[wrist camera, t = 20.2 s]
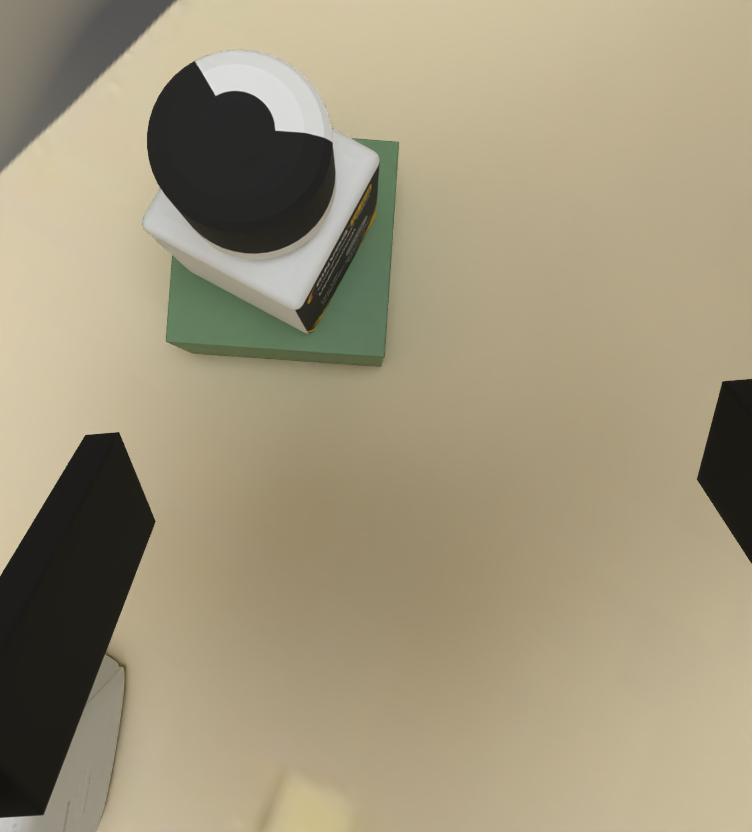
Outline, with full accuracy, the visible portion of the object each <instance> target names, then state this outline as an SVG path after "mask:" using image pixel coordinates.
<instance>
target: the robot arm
mask: <svg viewBox="0 0 752 832" xmlns="http://www.w3.org/2000/svg"><path fill="white" fill-rule="evenodd" d="M697 480H698V482H699V483H700V485H701V486H702V488H703V490H704V491H705V493H706V494H707V496H708V497H709V499H710V500H711V502H712V503H713V505H714V506H715V508H716V510H717V511H718V513H719V514H720V516H721V517H722V519H723V520H724V522H725V523H726V525H727V526H728V528H729V530H730V531H731V533H732V534H733V536H734V537H735V539H736V540H737V542H738V543H739V545H740V546H741V548H742V550H743V551H744V553H745V554H746V556H747V557H748V559H749V560H750V562H751V563H752V379H746V380H734V381H723V382H722V386H721V390H720V393H719V397H718V401H717V405H716V409H715V412H714V416H713V420H712V424H711V428H710V432H709V435H708V439H707V443H706V447H705V451H704V454H703V458H702V462H701V466H700V470H699V473H698V477H697ZM155 522H156V521H155V519H154V517H153V514H152V512H151V509H150V507H149V504H148V502H147V499H146V497H145V495H144V492H143V490H142V487H141V485H140V482H139V480H138V477H137V475H136V472H135V470H134V468H133V465H132V463H131V460H130V458H129V455H128V453H127V450H126V448H125V446H124V443H123V441H122V438H121V436H120V433H119V432H117V433H105V434H93V435H85V437H84V438H83V440H82V442H81V443H80V445H79V447H78V448H77V450H76V451H75V453H74V455H73V456H72V458H71V460H70V461H69V463H68V465H67V466H66V468H65V470H64V471H63V473H62V475H61V476H60V478H59V480H58V481H57V483H56V485H55V486H54V488H53V490H52V491H51V493H50V495H49V496H48V498H47V500H46V501H45V503H44V505H43V506H42V508H41V510H40V511H39V513H38V515H37V516H36V518H35V519H34V521H33V523H32V524H31V526H30V528H29V529H28V531H27V533H26V534H25V536H24V538H23V539H22V541H21V543H20V544H19V546H18V548H17V549H16V551H15V553H14V554H13V556H12V558H11V559H10V561H9V563H8V564H7V566H6V568H5V569H4V571H3V573H2V574H1V576H0V818H7V817H24V816H41V815H44V813H45V810H46V808H47V805H48V802H49V800H50V797H51V794H52V792H53V789H54V787H55V784H56V781H57V779H58V776H59V773H60V771H61V768H62V766H63V763H64V760H65V758H66V755H67V752H68V750H69V747H70V745H71V742H72V739H73V737H74V734H75V731H76V729H77V726H78V724H79V721H80V718H81V716H82V713H83V711H84V708H85V705H86V703H87V700H88V697H89V695H90V692H91V690H92V687H93V684H94V682H95V679H96V676H97V674H98V671H99V669H100V666H101V663H102V661H103V658H104V655H105V653H106V650H107V648H108V645H109V642H110V640H111V637H112V634H113V632H114V629H115V627H116V624H117V621H118V619H119V616H120V613H121V611H122V608H123V606H124V603H125V600H126V598H127V595H128V592H129V590H130V587H131V585H132V582H133V579H134V577H135V574H136V571H137V569H138V566H139V564H140V561H141V558H142V556H143V553H144V551H145V548H146V545H147V543H148V540H149V537H150V535H151V532H152V530H153V527H154V524H155Z"/></svg>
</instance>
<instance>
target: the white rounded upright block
mask: <svg viewBox="0 0 752 832" xmlns="http://www.w3.org/2000/svg"><path fill="white" fill-rule="evenodd" d="M124 683H125V676H124V668H123V667H119V665H118V663H117V662H116V661H115V660H113V659H112V658H110V657H109V656H107V655H104V658H103V661H102V663H101V666H100V669H99V671H98V674H97V676H96V679H95V682H94V684H93V687H92V690H91V692H90V695H89V697H88V700H87V703H86V705H85V708H84V711H83V713H82V716H81V718H80V721H79V724H78V726H77V729H76V731H75V734H74V737H73V739H72V742H71V745H70V747H69V750H68V752H67V755H66V758H65V760H64V763H63V766H62V768H61V771H60V773H59V776H58V779H57V781H56V784H55V787H54V789H53V792H52V794H51V797H50V800H49V802H48V805H47V808H46V810H45V813H44V815H41V816H24V817H7V818H0V832H95V831H96V829H97V827H98V824H99V822H100V819H101V817H102V814H103V810H104V807H105V803H106V798H107V794H108V789H109V784H110V779H111V774H112V768H113V763H114V757H115V751H116V745H117V739H118V732H119V725H120V718H121V711H122V703H123V695H124Z"/></svg>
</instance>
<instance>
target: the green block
mask: <svg viewBox="0 0 752 832" xmlns="http://www.w3.org/2000/svg"><path fill="white" fill-rule="evenodd" d="M351 139H353V140H355V141H357V142H358V143H360V144H362V145H364V146H366V147H368V148H370V149H371V150H373V151H375V152H376V153H377V154H378V156H379V159H380V164H379V179H378V194H377V208H376V217H375V219H374V221H373V223H372V225H371V226H370V228H369V230H368V232H367V234H366V236H365V238H364V239H363V241H362V243H361V245H360V247H359V249H358V251H357V252H356V254H355V256H354V258H353V260H352V262H351V264H350V265H349V267H348V269H347V271H346V273H345V275H344V277H343V278H342V280H341V282H340V284H339V286H338V288H337V290H336V291H335V293H334V295H333V297H332V299H331V301H330V303H329V304H328V306H327V308H326V310H325V312H324V314H323V315H322V317H321V319H320V321H319V323H318V325H317V327H316V328H315V330H314V331H313V332H312V333H309V334H307V333H304V332H302V331H300V330H298V329H296V328H294V327H293V326H291V325H289V324H287V323H285V322H283V321H281V320H279V319H278V318H276V317H274V316H272V315H270V314H268V313H266V312H265V311H263V310H261V309H259V308H257V307H255V306H253V305H251V304H250V303H248V302H246V301H244V300H242V299H240V298H238V297H237V296H235V295H233V294H231V293H229V292H227V291H225V290H223V289H222V288H220V287H218V286H216V285H214V284H212V283H210V282H208V281H207V280H205V279H203V278H201V277H199V276H197V275H195V274H194V273H192V272H190V271H189V270H188V269H187V268H186V267H185V266H184V265H183V264H181V263H180V262H179V261H178V260H177V259H176V258H175V257H174V256H173V255H172V265H171V279H170V292H169V306H168V319H167V333H166V342H168V343H170V344H172V345H175V346H177V347H179V348H182V349H184V350H186V351H189V352H191V353H195V354H209V355H223V356H238V357H252V358H266V359H281V360H295V361H309V362H323V363H338V364H352V365H366V366H381V365H382V362H383V359H384V356H385V342H386V327H387V312H388V297H389V283H390V268H391V253H392V238H393V224H394V209H395V194H396V180H397V165H398V150H399V142H392V141H380V140H367V139H354V138H351Z"/></svg>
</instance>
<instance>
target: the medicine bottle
mask: <svg viewBox="0 0 752 832" xmlns="http://www.w3.org/2000/svg"><path fill="white" fill-rule="evenodd" d="M147 149H148V156H149V161H150V165H151V168H152V172H153V174H154V176H155V179H156V181H157V183H158V185H159V186H160V188H159V190H158V192H157V194H156V196H155V197H154V199H153V201H152V203H151V205H150V206H149V208H148V210H147V212H146V214H145V216H144V217H143V220H142V225H143V229H144V230H145V231H146V232H147V233H148V234H150V235H151V236H152V237H153V238H154V239H155V240H156V241H157V242H158V243H159V244H161V245H162V246H163V247H164V248H165V249H166V250H167V251H168V252H169V253H170V254H172V255H173V256H174V257H175V258H176V259H177V260H178V261H179V262H180V263H181V264H183V265H184V266H185V267H186V268H187V269H188V270H189V271H190V272H192V273H194V274H195V275H197V276H199V277H201V278H203V279H205V280H207V281H208V282H210V283H212V284H214V285H216V286H218V287H220V288H222V289H223V290H225V291H227V292H229V293H231V294H233V295H235V296H237V297H238V298H240V299H242V300H244V301H246V302H248V303H250V304H251V305H253V306H255V307H257V308H259V309H261V310H263V311H265V312H266V313H268V314H270V315H272V316H274V317H276V318H278V319H279V320H281V321H283V322H285V323H287V324H289V325H291V326H293V327H294V328H296V329H298V330H300V331H302V332H304V333H307V334H309V333H312V332H313V331H314V330H315V328H316V327H317V325H318V323H319V321H320V319H321V317H322V315H323V314H324V312H325V310H326V308H327V306H328V304H329V303H330V301H331V299H332V297H333V295H334V293H335V291H336V290H337V288H338V286H339V284H340V282H341V280H342V278H343V277H344V275H345V273H346V271H347V269H348V267H349V265H350V264H351V262H352V260H353V258H354V256H355V254H356V252H357V251H358V249H359V247H360V245H361V243H362V241H363V239H364V238H365V236H366V234H367V232H368V230H369V228H370V226H371V225H372V223H373V221H374V219H375V217H376V208H377V194H378V179H379V164H380V159H379V156H378V154H377V153H376V152H375V151H373V150H371V149H370V148H368V147H366V146H364V145H362V144H360V143H358V142H357V141H355V140H353V139H351V138H349V137H347V136H345V135H344V134H342V133H340V132H338V131H336V130H334V129H333V128H331V124H330V119H329V115H328V113H327V110H326V107H325V105H324V103H323V101H322V99H321V97H320V95H319V93H318V92H317V91H316V89H315V88H314V86H313V85H312V84H311V83H310V81H309V80H308V79H307V78H306V77H305V76H304V75H303V74H302V73H300V72H299V71H298V70H297V69H295V68H294V67H293V66H291V65H290V64H288V63H286V62H285V61H283V60H281V59H279V58H276V57H274V56H271V55H269V54H265V53H261V52H258V51H250V50H228V51H221V52H216V53H213V54H210V55H207V56H204V57H202V58H200V59H198V60H196V61H194V62H192V63H191V64H189V65H187V66H186V67H184V68H183V69H182V70H181V71H179V72H178V73H177V74H176V75H175V76H174V77H173V78H172V79H171V80H170V81H169V82H168V84H167V85H166V86H165V87H164V89H163V90H162V92H161V93H160V95H159V97H158V99H157V101H156V103H155V105H154V107H153V110H152V113H151V116H150V120H149V125H148V132H147Z"/></svg>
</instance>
